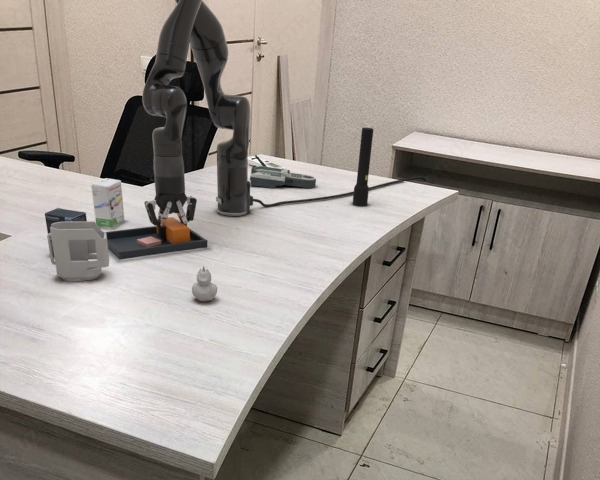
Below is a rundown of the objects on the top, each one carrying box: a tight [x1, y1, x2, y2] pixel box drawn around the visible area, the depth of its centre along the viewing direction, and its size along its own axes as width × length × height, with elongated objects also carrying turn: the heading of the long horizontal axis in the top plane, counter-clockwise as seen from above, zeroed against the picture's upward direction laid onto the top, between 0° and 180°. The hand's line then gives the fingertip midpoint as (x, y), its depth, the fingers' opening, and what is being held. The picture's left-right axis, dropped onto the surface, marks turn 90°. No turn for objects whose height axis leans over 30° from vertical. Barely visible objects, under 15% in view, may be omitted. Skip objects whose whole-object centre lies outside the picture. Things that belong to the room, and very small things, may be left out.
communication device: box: [249, 154, 317, 189], centre depth 226 cm, size 12×24×9 cm, turn 89°
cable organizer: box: [46, 220, 110, 281], centre depth 140 cm, size 7×12×12 cm, turn 103°
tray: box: [98, 225, 208, 260], centre depth 164 cm, size 24×17×2 cm
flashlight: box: [352, 127, 374, 207], centre depth 205 cm, size 5×24×5 cm
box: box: [44, 207, 88, 257], centre depth 152 cm, size 8×6×11 cm
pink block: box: [137, 236, 161, 247], centre depth 164 cm, size 4×4×1 cm
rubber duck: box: [191, 265, 218, 302], centre depth 135 cm, size 5×7×8 cm
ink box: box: [90, 177, 126, 228], centre depth 175 cm, size 8×5×12 cm, turn 167°
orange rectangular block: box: [157, 216, 190, 244], centre depth 166 cm, size 5×11×5 cm, turn 34°
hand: (173, 238), depth 167 cm, fingers closed on orange rectangular block, 5 cm apart
